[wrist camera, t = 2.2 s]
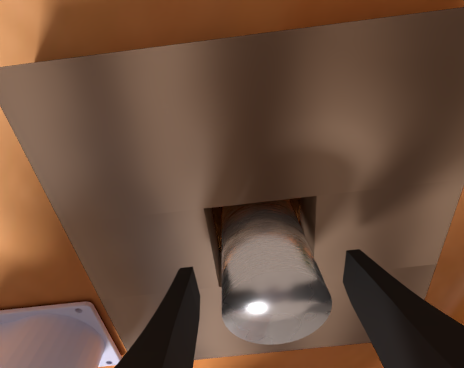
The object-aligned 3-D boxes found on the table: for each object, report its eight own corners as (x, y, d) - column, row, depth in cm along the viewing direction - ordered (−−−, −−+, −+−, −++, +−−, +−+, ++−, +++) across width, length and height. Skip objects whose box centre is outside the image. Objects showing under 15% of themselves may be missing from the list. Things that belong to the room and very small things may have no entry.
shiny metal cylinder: (226, 244, 18) (228, 349, 12) (217, 187, 16) (214, 278, 10) (291, 237, 18) (328, 339, 12) (291, 179, 16) (335, 265, 10)
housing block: (145, 326, 22) (134, 365, 19) (33, 64, 12) (-19, 69, 10) (387, 302, 21) (411, 338, 19) (459, 9, 12) (528, -1, 9)
